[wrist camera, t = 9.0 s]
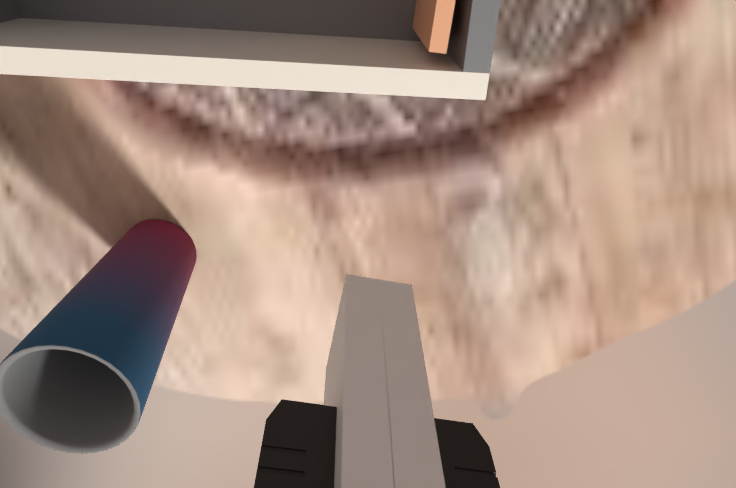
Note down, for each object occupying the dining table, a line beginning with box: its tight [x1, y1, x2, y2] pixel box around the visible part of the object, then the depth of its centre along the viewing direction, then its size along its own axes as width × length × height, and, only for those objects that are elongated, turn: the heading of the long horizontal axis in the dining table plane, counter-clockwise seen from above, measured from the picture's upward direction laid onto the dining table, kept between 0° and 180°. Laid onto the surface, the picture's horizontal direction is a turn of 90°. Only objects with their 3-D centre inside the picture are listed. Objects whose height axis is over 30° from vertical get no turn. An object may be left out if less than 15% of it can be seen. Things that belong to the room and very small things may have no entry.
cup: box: [0, 219, 196, 454], centre depth 34 cm, size 7×7×15 cm
